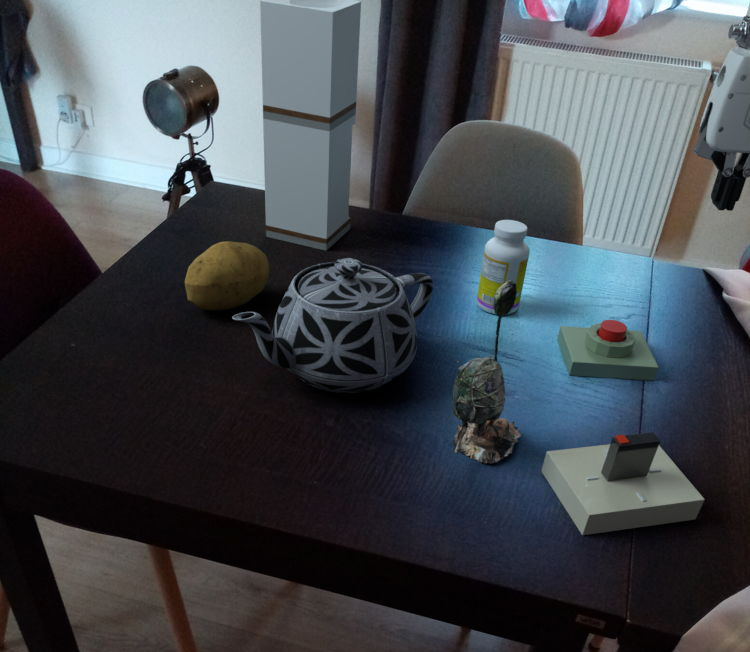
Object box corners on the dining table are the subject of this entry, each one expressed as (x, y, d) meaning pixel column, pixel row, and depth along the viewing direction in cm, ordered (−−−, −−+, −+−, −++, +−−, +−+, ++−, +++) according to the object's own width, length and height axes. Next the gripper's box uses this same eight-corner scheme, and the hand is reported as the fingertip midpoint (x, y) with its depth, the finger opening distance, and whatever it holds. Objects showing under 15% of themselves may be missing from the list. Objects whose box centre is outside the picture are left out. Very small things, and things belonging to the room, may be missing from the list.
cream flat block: (646, 458, 95) (654, 437, 93) (695, 519, 87) (705, 498, 85) (541, 471, 92) (546, 450, 90) (582, 535, 84) (589, 514, 82)
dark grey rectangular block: (639, 467, 89) (654, 430, 85) (647, 476, 88) (661, 438, 84) (600, 472, 87) (613, 434, 84) (607, 481, 86) (620, 443, 83)
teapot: (201, 368, 103) (191, 260, 93) (383, 311, 118) (391, 213, 108) (278, 442, 93) (276, 329, 83) (468, 369, 108) (485, 266, 98)
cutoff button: (620, 331, 111) (623, 320, 110) (626, 344, 108) (629, 333, 107) (595, 329, 111) (598, 318, 110) (600, 342, 108) (604, 331, 107)
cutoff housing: (636, 344, 116) (644, 319, 114) (654, 380, 109) (663, 356, 106) (557, 338, 116) (563, 314, 113) (569, 375, 108) (575, 350, 106)
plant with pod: (422, 441, 95) (443, 289, 81) (491, 413, 100) (521, 266, 87) (467, 478, 90) (496, 322, 77) (536, 447, 95) (575, 296, 82)
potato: (166, 240, 110) (198, 259, 105) (247, 227, 117) (282, 244, 112) (172, 305, 116) (204, 326, 110) (250, 288, 123) (283, 307, 117)
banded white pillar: (350, 228, 141) (361, 1, 117) (326, 250, 133) (332, 12, 110) (292, 215, 143) (292, -9, 120) (266, 236, 136) (260, 0, 112)
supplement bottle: (510, 295, 125) (526, 216, 117) (523, 316, 120) (541, 235, 112) (470, 296, 124) (483, 216, 115) (482, 317, 119) (496, 235, 111)
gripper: (719, 43, 82) (670, 216, 94) (859, 48, 83) (793, 220, 95) (697, 29, 88) (654, 193, 100) (828, 34, 88) (769, 197, 100)
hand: (721, 206), depth 97 cm, fingers closed
